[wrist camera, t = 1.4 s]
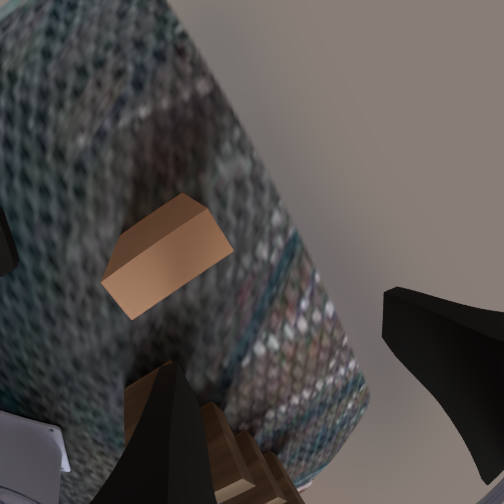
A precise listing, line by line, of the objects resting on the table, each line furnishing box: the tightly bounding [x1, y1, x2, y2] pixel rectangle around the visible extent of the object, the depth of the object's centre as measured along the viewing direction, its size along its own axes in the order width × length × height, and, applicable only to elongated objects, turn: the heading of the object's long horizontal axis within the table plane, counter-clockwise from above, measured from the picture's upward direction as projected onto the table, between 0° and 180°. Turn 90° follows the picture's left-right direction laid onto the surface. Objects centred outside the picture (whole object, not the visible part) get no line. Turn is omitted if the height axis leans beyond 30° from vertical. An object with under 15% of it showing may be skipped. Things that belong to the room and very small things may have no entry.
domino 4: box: [223, 430, 287, 504], centre depth 23 cm, size 2×5×9 cm, turn 119°
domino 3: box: [200, 401, 256, 504], centre depth 20 cm, size 2×5×9 cm, turn 119°
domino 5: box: [263, 451, 305, 504], centre depth 25 cm, size 2×5×9 cm, turn 119°
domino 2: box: [124, 360, 185, 448], centre depth 18 cm, size 2×5×9 cm, turn 120°
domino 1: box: [101, 192, 234, 320], centre depth 15 cm, size 2×5×9 cm, turn 119°
